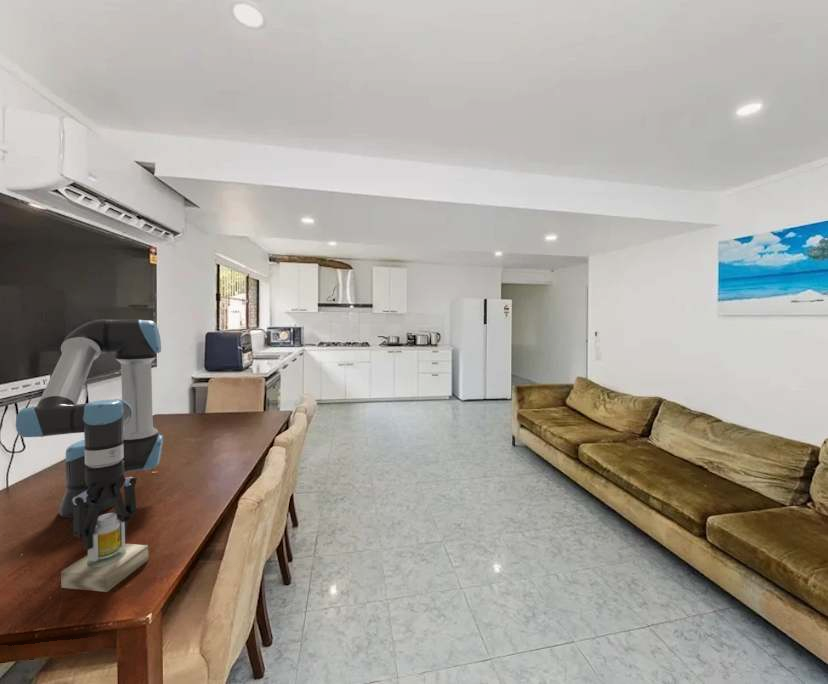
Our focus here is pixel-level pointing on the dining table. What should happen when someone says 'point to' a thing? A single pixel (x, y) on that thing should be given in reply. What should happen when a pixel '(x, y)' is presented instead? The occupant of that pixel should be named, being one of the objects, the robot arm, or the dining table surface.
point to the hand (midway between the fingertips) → (107, 552)
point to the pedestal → (104, 569)
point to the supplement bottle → (108, 535)
